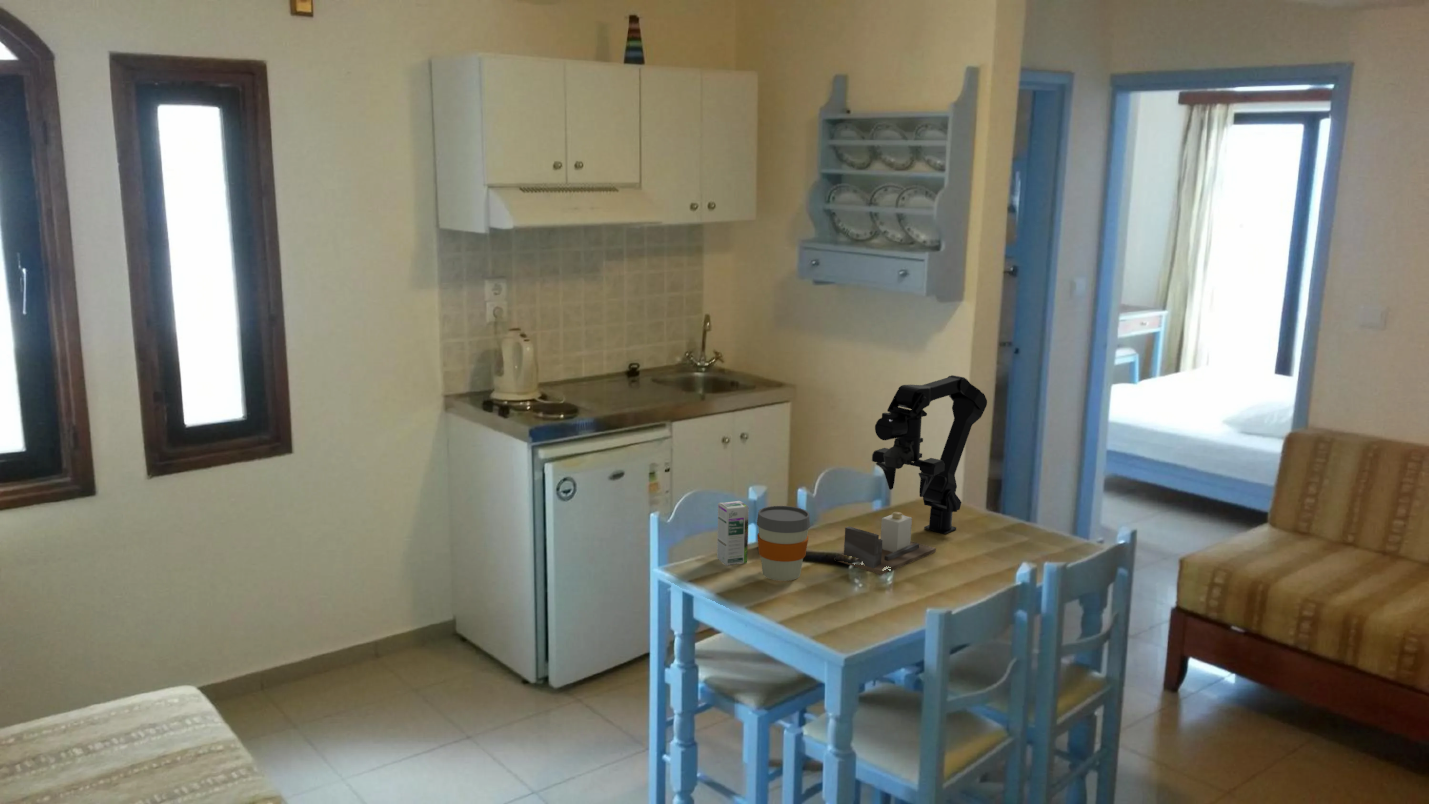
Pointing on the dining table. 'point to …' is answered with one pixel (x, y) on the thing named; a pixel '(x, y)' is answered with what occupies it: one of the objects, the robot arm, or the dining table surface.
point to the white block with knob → (896, 532)
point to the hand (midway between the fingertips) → (906, 493)
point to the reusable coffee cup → (782, 541)
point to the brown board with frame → (880, 551)
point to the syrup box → (732, 532)
